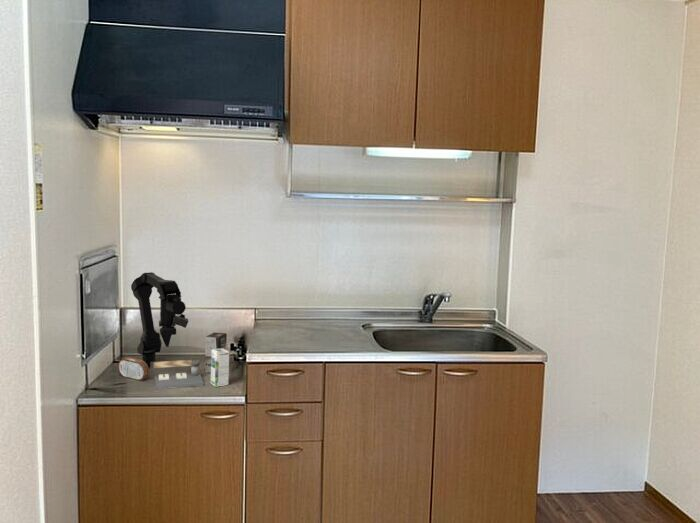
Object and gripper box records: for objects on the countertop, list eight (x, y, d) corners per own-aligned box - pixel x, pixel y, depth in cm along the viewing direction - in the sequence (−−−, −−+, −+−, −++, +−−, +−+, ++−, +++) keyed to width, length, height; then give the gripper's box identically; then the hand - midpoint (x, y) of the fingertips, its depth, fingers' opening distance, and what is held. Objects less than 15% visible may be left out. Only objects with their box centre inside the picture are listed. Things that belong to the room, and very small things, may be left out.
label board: (154, 378, 234) (154, 366, 234) (199, 375, 241) (200, 363, 240) (155, 389, 221) (155, 376, 221) (203, 385, 228) (203, 373, 227)
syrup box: (210, 383, 231) (210, 349, 230) (223, 381, 235) (223, 347, 233) (215, 387, 227) (216, 352, 225) (229, 385, 230) (229, 351, 229)
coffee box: (218, 373, 245) (218, 337, 243) (204, 372, 246) (204, 336, 244) (226, 367, 254) (227, 333, 252) (213, 366, 255) (214, 331, 253)
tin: (149, 380, 232) (149, 360, 231) (143, 382, 229) (144, 362, 228) (123, 374, 238) (122, 355, 237) (117, 376, 235) (117, 357, 234)
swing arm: (198, 363, 240) (198, 358, 239) (199, 366, 236) (199, 361, 236) (150, 366, 232) (150, 361, 232) (150, 369, 229) (150, 363, 229)
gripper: (189, 314, 230) (188, 351, 231) (185, 305, 247) (185, 340, 249) (160, 315, 226) (160, 352, 227) (159, 306, 243) (158, 341, 245)
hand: (167, 346), depth 237 cm, fingers closed
